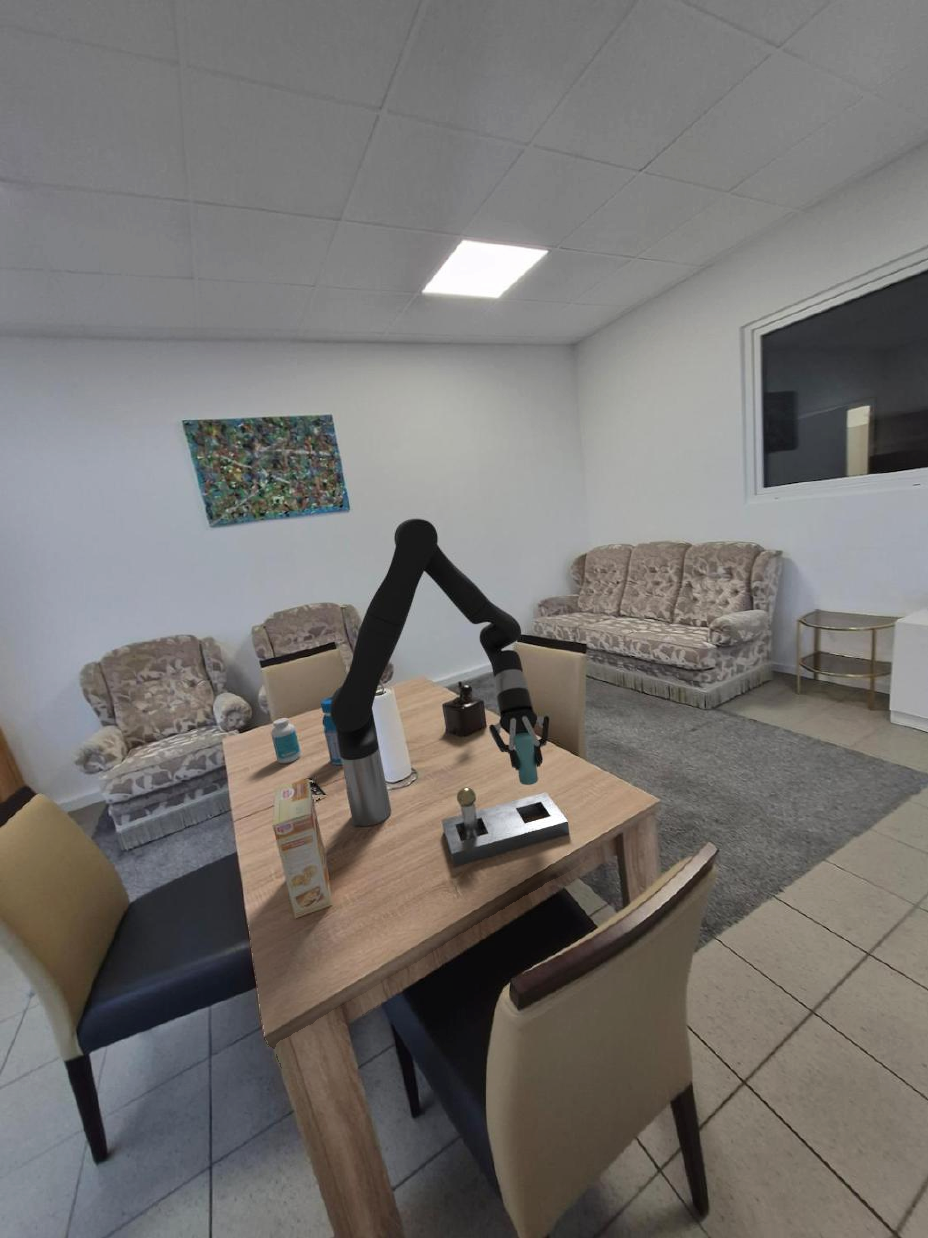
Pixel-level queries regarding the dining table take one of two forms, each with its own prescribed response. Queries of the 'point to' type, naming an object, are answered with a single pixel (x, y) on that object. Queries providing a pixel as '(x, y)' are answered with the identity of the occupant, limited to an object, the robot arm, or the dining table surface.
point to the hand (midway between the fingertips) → (528, 767)
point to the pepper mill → (464, 713)
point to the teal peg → (526, 758)
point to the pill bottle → (285, 741)
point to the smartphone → (318, 789)
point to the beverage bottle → (330, 733)
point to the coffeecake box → (301, 848)
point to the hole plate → (500, 826)
